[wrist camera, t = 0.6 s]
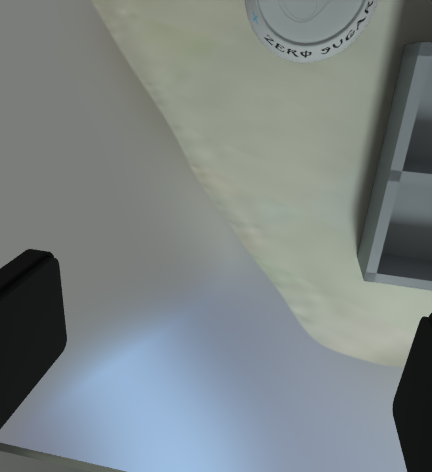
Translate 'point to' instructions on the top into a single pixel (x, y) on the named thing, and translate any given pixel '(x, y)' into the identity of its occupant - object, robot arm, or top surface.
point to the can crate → (403, 183)
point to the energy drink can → (308, 26)
